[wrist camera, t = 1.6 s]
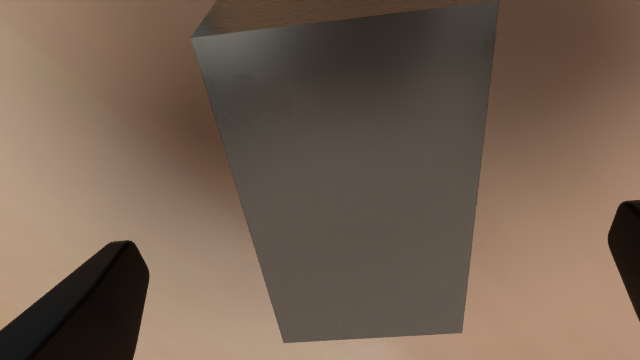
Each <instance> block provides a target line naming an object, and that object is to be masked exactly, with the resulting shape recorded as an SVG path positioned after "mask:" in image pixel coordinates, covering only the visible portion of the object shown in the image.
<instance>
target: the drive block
mask: <svg viewBox="0 0 640 360" xmlns="http://www.w3.org/2000/svg"><path fill="white" fill-rule="evenodd" d="M498 8H499V0H217V2H216V3H215V5H214V6H213V7H212V9H211V10H210V12H209V13H208V14H207V16H206V17H205V19H204V20H203V21H202V23H201V24H200V26H199V27H198V28H197V30H196V31H195V33H194V34H193V35H192V37H191V41H192V44H193V47H194V50H195V54H196V57H197V60H198V64H199V67H200V70H201V73H202V77H203V80H204V83H205V87H206V90H207V93H208V96H209V100H210V103H211V106H212V109H213V113H214V116H215V119H216V123H217V126H218V129H219V132H220V136H221V139H222V142H223V145H224V149H225V152H226V155H227V159H228V162H229V165H230V168H231V172H232V175H233V178H234V182H235V185H236V188H237V191H238V195H239V198H240V201H241V204H242V208H243V211H244V214H245V218H246V221H247V224H248V227H249V231H250V234H251V237H252V241H253V244H254V247H255V250H256V254H257V257H258V260H259V263H260V267H261V270H262V273H263V277H264V280H265V283H266V286H267V290H268V293H269V296H270V300H271V303H272V306H273V309H274V313H275V316H276V319H277V322H278V326H279V329H280V332H281V336H282V339H283V342H284V343H291V342H309V341H327V340H345V339H363V338H381V337H399V336H417V335H435V334H453V333H462V329H463V320H464V311H465V302H466V293H467V284H468V275H469V266H470V257H471V248H472V240H473V231H474V222H475V213H476V204H477V195H478V186H479V177H480V168H481V159H482V150H483V142H484V133H485V124H486V115H487V106H488V97H489V88H490V79H491V70H492V61H493V52H494V44H495V35H496V26H497V17H498Z"/></svg>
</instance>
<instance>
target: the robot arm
mask: <svg viewBox="0 0 640 360" xmlns="http://www.w3.org/2000/svg"><path fill="white" fill-rule="evenodd" d="M608 245H609V248H610V251H611V253H612V256H613V258H614V261H615V263H616V266H617V268H618V271H619V273H620V275H621V278H622V280H623V283H624V285H625V288H626V290H627V293H628V295H629V297H630V300H631V302H632V305H633V307H634V310H635V312H636V314H637V317H638V319H639V321H640V200H632V201H625V202H622V203H621V204H620V205H619V207H618V209H617V212H616V214H615V217H614V220H613V222H612V225H611V228H610V231H609V234H608ZM148 284H149V270H148V267H147V265H146V263H145V261H144V259H143V258H142V256H141V254H140V252H139V250H138V248H137V246H136V245H135V243H134V242H132V241H129V240H126V241H114V242H110V243H108V244H107V245H106V246H104V247H103V248H102V249H101V250H100V251H98V252H97V253H96V254H95V255H93V256H92V257H91V258H90V259H88V260H87V261H86V262H85V263H83V264H82V265H81V266H80V267H79V268H77V269H76V270H75V271H74V272H72V273H71V274H70V275H69V276H67V277H66V278H65V279H64V280H62V281H61V282H60V283H59V284H57V285H56V286H55V287H54V288H53V289H51V290H50V291H49V292H48V293H46V294H45V295H44V296H43V297H41V298H40V299H39V300H38V301H36V302H35V303H34V304H33V305H31V306H30V307H29V308H28V309H27V310H25V311H24V312H23V313H22V314H20V315H19V316H18V317H17V318H15V319H14V320H13V321H12V322H10V323H9V324H8V325H7V326H5V327H4V328H3V329H2V330H0V360H133V357H134V353H135V349H136V345H137V341H138V335H139V330H140V325H141V320H142V315H143V310H144V304H145V299H146V294H147V289H148Z"/></svg>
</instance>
